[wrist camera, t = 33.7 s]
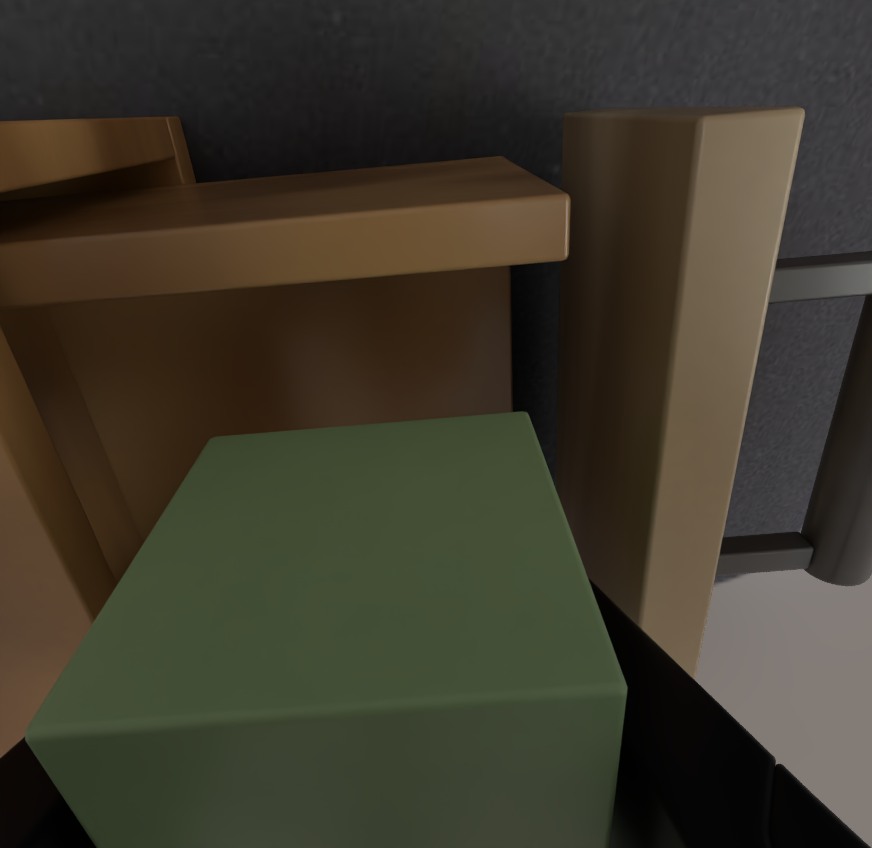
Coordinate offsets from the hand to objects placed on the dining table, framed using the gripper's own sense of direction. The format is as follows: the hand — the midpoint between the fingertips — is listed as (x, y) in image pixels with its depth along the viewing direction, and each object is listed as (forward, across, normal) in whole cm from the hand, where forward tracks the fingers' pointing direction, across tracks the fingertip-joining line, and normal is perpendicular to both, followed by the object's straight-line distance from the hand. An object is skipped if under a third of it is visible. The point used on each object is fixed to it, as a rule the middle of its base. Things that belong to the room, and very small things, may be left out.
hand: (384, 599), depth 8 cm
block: (+1, 0, 0) cm, 1 cm away
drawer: (+8, -1, 0) cm, 8 cm away
